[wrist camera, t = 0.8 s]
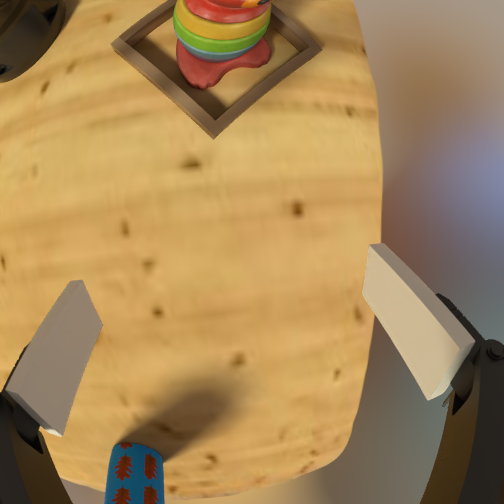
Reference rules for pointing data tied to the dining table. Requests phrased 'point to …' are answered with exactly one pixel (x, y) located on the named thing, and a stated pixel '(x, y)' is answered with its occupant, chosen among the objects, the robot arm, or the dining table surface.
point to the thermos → (134, 475)
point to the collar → (179, 97)
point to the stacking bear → (220, 37)
